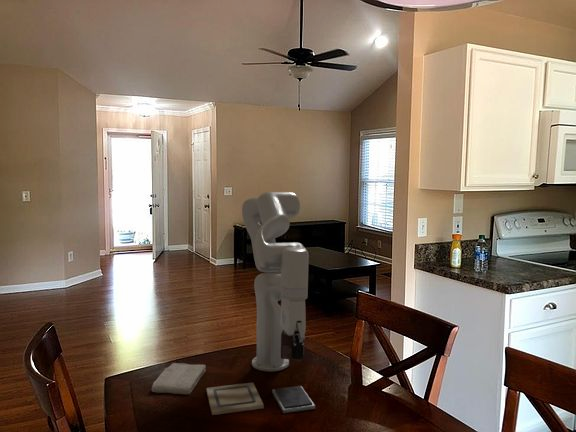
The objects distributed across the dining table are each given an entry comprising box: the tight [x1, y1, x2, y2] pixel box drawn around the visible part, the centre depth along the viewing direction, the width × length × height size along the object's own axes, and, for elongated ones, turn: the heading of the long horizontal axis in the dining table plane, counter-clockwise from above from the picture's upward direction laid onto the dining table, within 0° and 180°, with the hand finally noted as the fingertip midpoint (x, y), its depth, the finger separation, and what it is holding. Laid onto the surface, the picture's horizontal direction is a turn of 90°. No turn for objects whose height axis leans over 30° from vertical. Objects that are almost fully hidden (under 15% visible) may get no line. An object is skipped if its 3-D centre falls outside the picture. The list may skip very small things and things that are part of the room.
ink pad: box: [271, 385, 316, 414], centre depth 128 cm, size 12×9×1 cm
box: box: [281, 330, 306, 361], centre depth 127 cm, size 6×6×7 cm
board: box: [206, 382, 265, 416], centre depth 128 cm, size 14×14×1 cm
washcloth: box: [151, 362, 207, 395], centre depth 139 cm, size 12×18×3 cm, turn 175°
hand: (292, 351), depth 127 cm, fingers closed on box, 8 cm apart
